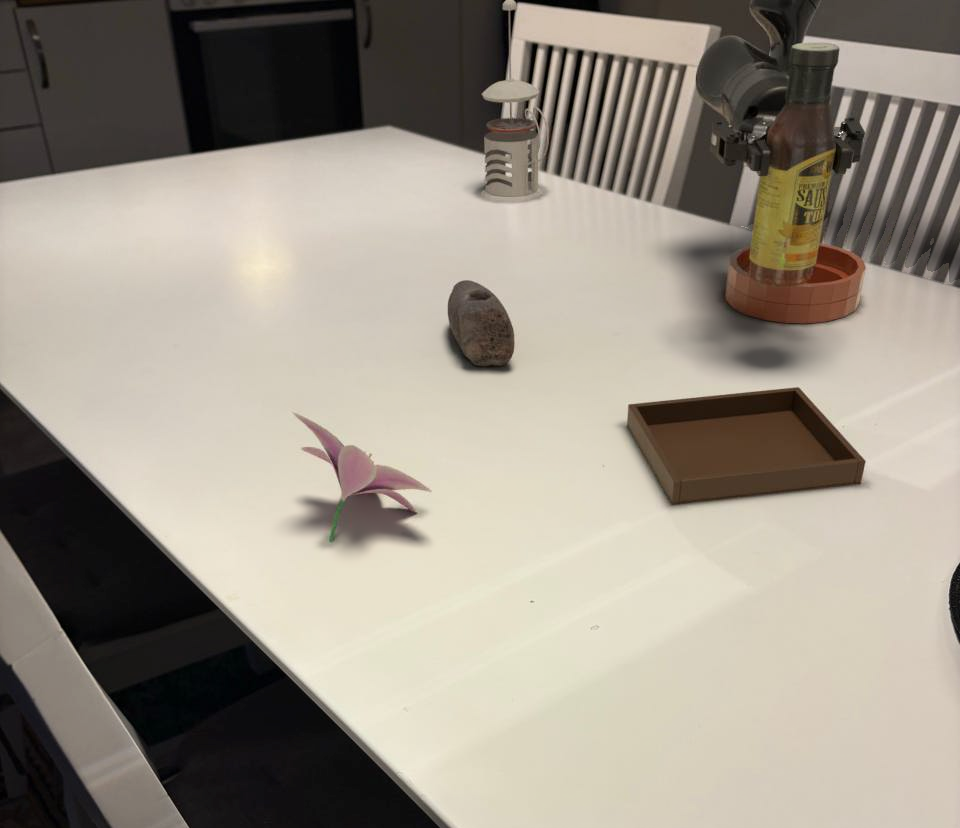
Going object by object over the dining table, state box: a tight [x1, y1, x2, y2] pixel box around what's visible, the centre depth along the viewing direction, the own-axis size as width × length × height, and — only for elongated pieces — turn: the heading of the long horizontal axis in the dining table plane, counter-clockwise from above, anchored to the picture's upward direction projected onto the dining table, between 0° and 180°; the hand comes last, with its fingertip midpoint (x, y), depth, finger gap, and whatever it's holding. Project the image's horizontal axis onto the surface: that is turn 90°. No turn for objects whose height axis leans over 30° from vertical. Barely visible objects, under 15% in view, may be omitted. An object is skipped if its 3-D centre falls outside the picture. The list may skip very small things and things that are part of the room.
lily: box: [291, 412, 433, 543], centre depth 82 cm, size 12×12×10 cm
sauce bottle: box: [749, 42, 840, 287], centre depth 94 cm, size 6×6×20 cm
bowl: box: [725, 242, 867, 324], centre depth 117 cm, size 15×15×4 cm
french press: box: [480, 0, 550, 203], centre depth 146 cm, size 10×12×25 cm
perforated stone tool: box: [447, 279, 516, 368], centre depth 109 cm, size 15×5×7 cm, turn 13°
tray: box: [626, 386, 867, 506], centre depth 90 cm, size 16×14×2 cm
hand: (804, 163), depth 92 cm, fingers closed on sauce bottle, 6 cm apart
